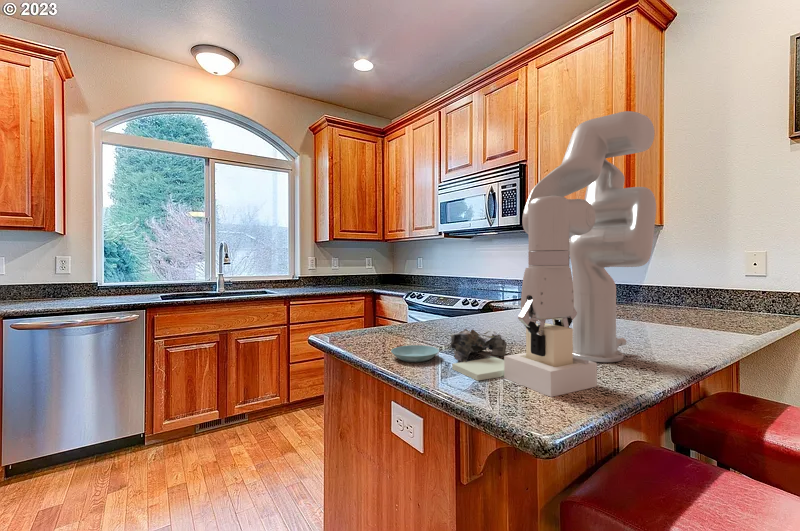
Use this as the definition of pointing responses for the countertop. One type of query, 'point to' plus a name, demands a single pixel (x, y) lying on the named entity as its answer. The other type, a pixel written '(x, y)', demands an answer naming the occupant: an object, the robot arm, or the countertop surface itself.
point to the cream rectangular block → (553, 346)
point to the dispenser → (550, 375)
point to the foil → (476, 344)
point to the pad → (481, 368)
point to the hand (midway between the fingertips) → (548, 352)
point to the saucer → (415, 353)
